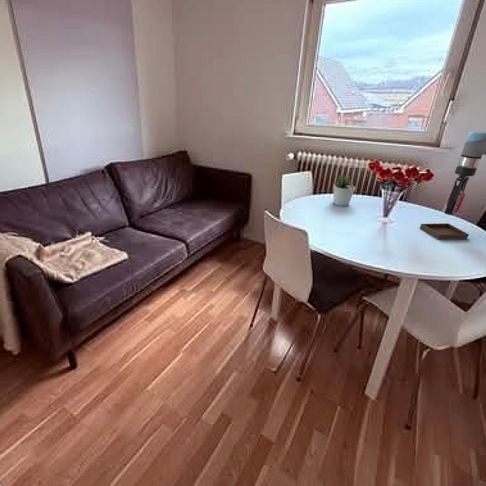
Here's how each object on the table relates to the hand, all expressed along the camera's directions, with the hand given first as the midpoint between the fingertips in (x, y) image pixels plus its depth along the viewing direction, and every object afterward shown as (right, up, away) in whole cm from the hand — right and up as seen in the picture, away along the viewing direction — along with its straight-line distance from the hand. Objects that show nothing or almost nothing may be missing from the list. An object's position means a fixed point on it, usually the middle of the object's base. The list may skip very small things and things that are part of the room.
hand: (450, 212), depth 154 cm
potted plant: (-37, +7, +42) cm, 57 cm away
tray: (0, -11, +5) cm, 12 cm away
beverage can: (0, -1, 0) cm, 1 cm away
